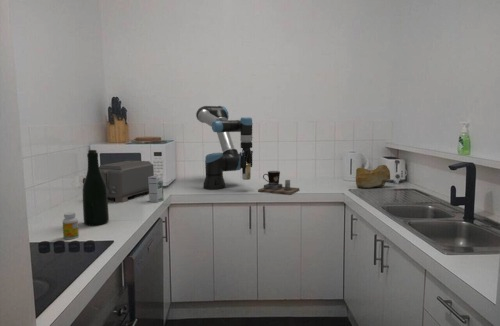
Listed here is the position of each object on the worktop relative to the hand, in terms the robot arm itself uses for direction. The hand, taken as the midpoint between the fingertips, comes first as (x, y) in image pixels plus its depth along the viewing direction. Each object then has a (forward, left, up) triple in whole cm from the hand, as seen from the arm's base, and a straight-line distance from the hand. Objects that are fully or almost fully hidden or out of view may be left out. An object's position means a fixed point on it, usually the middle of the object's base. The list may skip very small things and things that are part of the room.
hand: (246, 177), depth 237 cm
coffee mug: (+7, +24, -9) cm, 26 cm away
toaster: (-59, -47, -9) cm, 75 cm away
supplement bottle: (-19, -114, -9) cm, 116 cm away
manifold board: (+19, +8, -9) cm, 23 cm away
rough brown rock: (+69, +49, -9) cm, 85 cm away
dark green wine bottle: (-27, -95, -9) cm, 99 cm away
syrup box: (-33, -48, -9) cm, 59 cm away
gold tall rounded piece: (0, 0, -1) cm, 1 cm away
